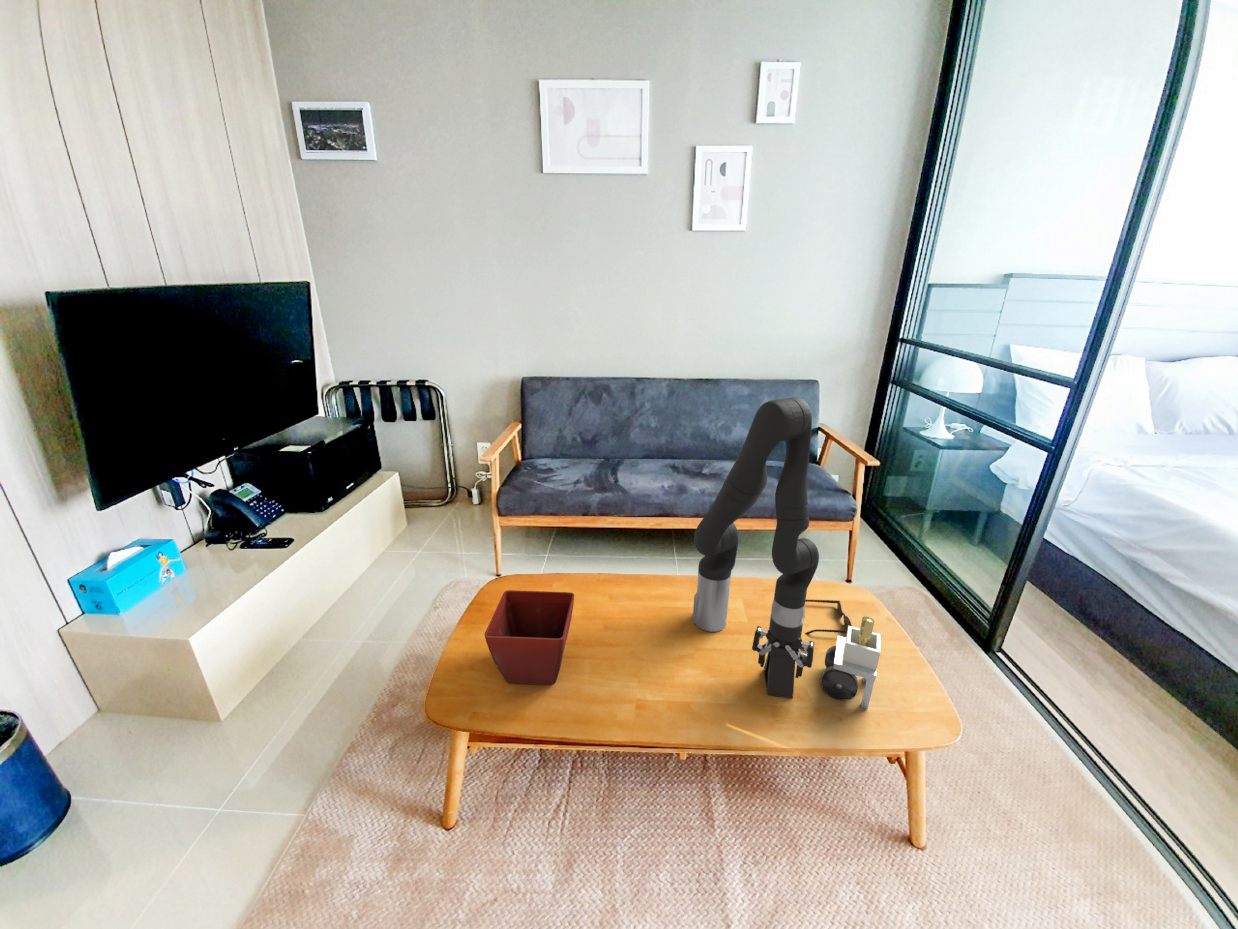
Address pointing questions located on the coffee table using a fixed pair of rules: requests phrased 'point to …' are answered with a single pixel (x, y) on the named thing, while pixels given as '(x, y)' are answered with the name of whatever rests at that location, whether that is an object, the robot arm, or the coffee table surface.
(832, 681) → the trolley
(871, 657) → the tray
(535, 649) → the plant pot
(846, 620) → the eyeglasses
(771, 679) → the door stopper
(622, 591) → the coffee table surface
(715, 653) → the coffee table surface
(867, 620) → the pin
